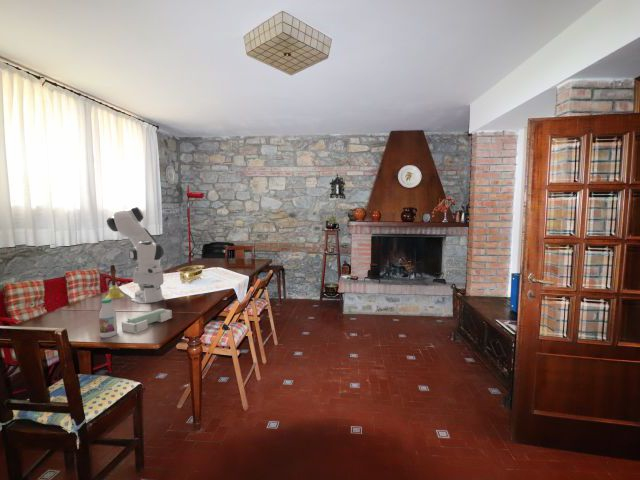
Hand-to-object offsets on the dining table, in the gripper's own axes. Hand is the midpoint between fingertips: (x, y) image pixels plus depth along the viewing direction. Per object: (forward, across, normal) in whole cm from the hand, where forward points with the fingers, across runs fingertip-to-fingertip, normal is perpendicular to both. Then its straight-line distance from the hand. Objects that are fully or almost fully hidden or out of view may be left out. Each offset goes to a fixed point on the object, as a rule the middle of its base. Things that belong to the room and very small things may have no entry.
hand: (148, 291), depth 189 cm
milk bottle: (+19, -6, -21) cm, 30 cm away
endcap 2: (+19, 0, +8) cm, 21 cm away
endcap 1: (+19, 0, -10) cm, 22 cm away
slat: (+19, 0, -2) cm, 19 cm away
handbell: (+20, -73, +34) cm, 83 cm away
